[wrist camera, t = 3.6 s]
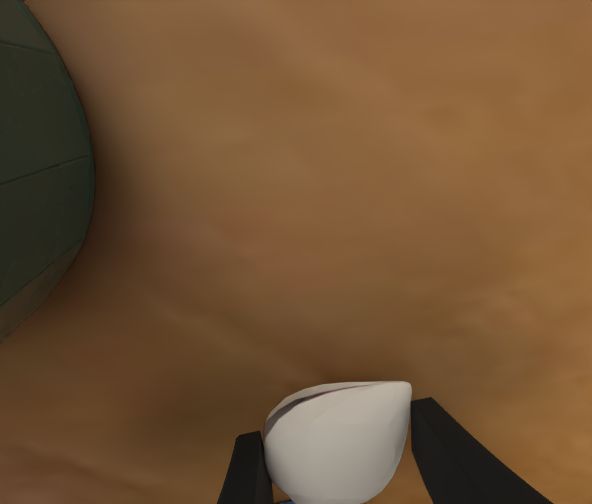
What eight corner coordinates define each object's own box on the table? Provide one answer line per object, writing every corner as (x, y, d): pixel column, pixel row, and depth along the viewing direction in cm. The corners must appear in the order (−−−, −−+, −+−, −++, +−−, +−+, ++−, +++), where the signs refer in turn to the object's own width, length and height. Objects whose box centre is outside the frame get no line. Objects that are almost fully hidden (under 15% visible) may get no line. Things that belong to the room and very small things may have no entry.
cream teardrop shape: (236, 417, 12) (232, 494, 10) (349, 317, 11) (376, 375, 9) (326, 473, 13) (342, 551, 11) (433, 389, 12) (475, 455, 10)
